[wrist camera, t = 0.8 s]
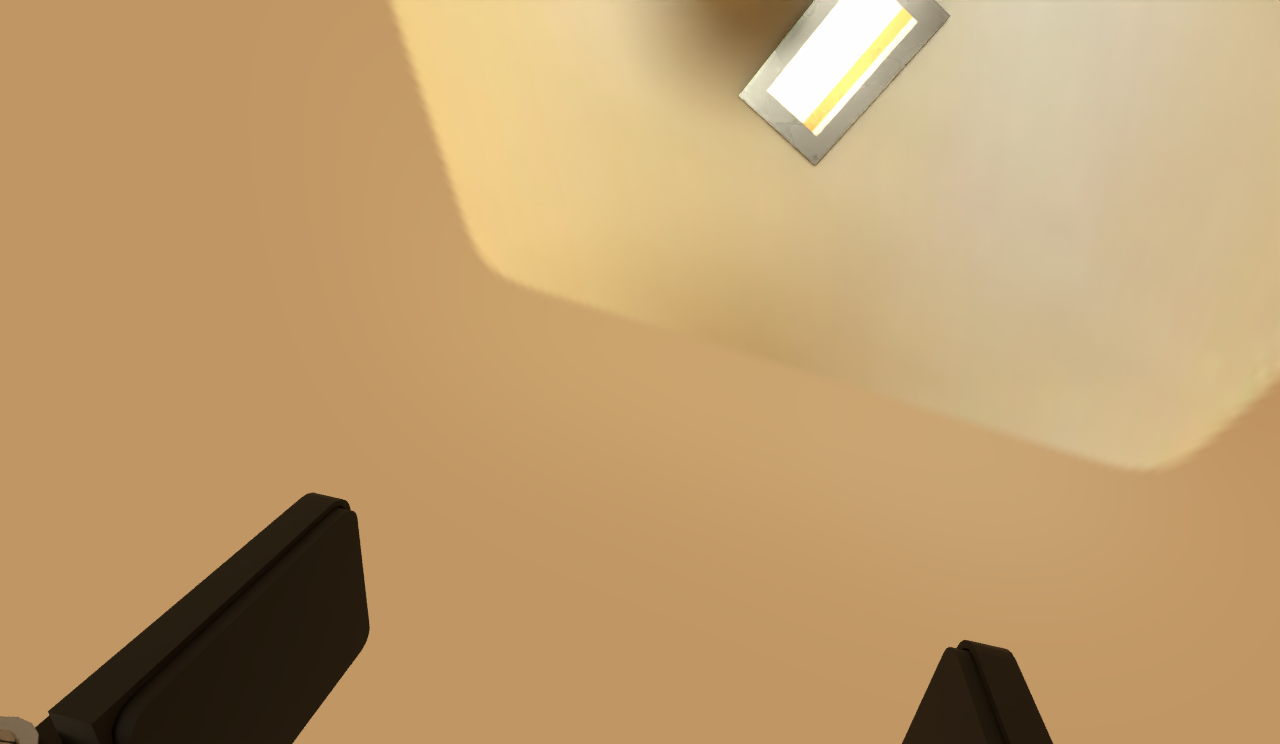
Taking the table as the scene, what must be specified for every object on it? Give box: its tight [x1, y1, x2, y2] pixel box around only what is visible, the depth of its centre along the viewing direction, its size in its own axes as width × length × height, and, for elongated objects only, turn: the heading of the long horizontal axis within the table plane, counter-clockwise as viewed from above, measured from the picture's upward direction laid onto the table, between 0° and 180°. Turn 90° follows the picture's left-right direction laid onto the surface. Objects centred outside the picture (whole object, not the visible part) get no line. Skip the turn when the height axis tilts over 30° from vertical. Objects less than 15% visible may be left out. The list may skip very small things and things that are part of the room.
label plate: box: [739, 0, 950, 165], centre depth 28 cm, size 8×5×1 cm, turn 141°
